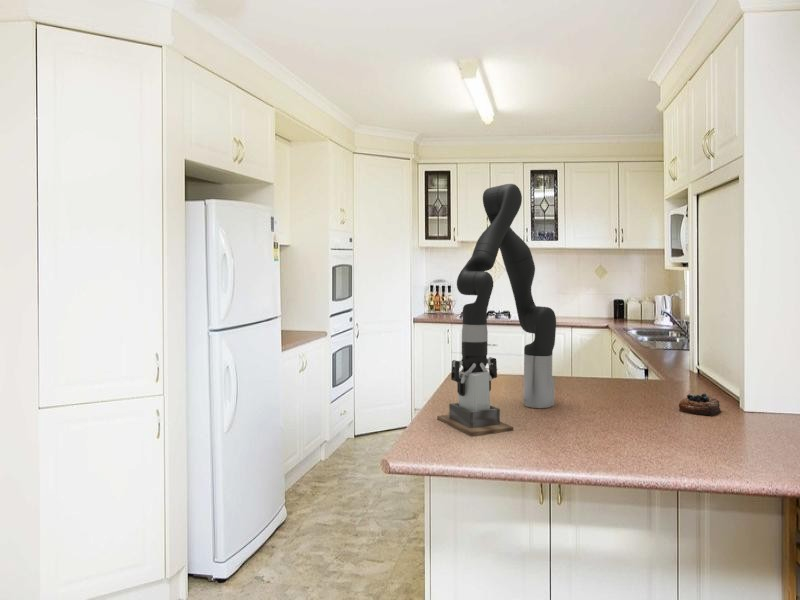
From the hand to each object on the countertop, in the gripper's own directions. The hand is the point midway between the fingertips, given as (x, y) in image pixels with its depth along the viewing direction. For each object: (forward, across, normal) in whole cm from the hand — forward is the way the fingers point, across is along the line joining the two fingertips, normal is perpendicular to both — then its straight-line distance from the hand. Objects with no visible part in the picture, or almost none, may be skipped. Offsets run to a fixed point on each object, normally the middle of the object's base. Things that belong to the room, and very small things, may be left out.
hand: (474, 394), depth 177 cm
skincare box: (+8, 0, 0) cm, 8 cm away
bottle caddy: (+9, 0, 0) cm, 9 cm away
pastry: (+10, -75, +16) cm, 77 cm away
